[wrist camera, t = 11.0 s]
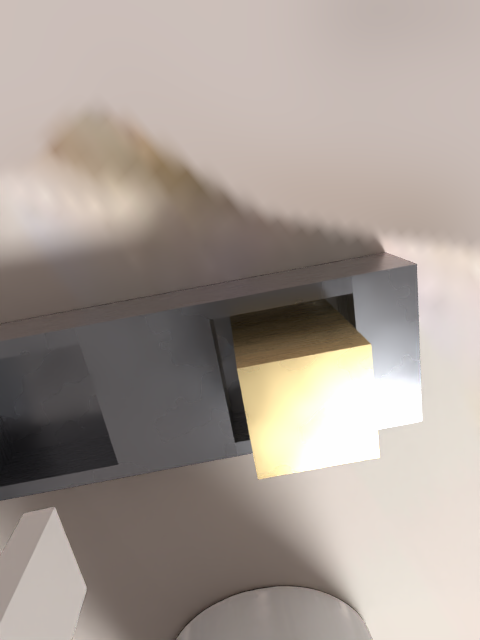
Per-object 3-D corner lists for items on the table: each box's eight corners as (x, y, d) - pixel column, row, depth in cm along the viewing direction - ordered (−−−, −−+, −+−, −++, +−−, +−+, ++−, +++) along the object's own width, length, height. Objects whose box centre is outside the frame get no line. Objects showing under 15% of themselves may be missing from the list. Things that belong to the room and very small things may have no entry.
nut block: (245, 397, 20) (257, 479, 14) (229, 313, 19) (236, 368, 13) (332, 381, 20) (379, 457, 14) (322, 296, 19) (371, 343, 13)
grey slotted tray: (-26, 468, 21) (-64, 512, 18) (-86, 339, 19) (-140, 367, 16) (393, 389, 21) (422, 421, 18) (385, 252, 19) (416, 264, 16)
